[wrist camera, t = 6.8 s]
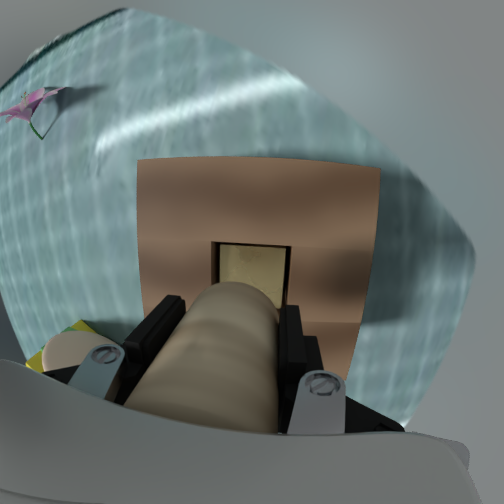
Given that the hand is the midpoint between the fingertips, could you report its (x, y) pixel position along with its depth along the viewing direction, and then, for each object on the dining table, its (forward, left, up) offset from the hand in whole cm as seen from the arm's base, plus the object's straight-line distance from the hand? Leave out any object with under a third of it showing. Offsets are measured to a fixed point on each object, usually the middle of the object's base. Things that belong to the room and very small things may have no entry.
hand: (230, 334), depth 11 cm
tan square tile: (0, 0, -9) cm, 9 cm away
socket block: (0, 0, -16) cm, 16 cm away
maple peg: (0, 0, -1) cm, 1 cm away
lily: (+18, +29, -16) cm, 38 cm away
